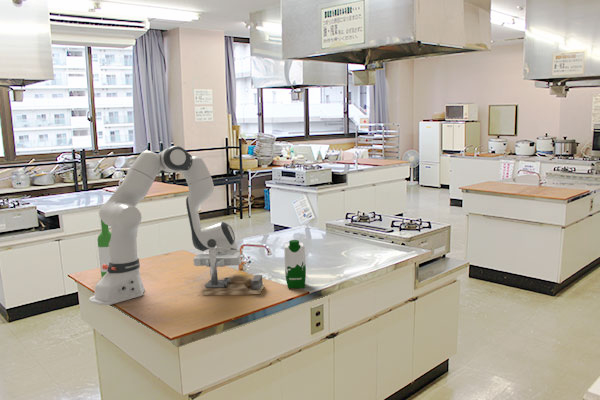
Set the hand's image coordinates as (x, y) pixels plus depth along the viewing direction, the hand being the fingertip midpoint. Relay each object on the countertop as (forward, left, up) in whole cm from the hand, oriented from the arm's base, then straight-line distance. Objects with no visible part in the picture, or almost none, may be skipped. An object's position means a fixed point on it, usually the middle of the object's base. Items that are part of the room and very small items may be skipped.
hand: (212, 264), depth 205 cm
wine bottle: (-7, +61, -12) cm, 63 cm away
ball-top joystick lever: (+2, -1, -10) cm, 10 cm away
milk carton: (+22, -27, -12) cm, 36 cm away
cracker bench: (+5, -7, -12) cm, 14 cm away
